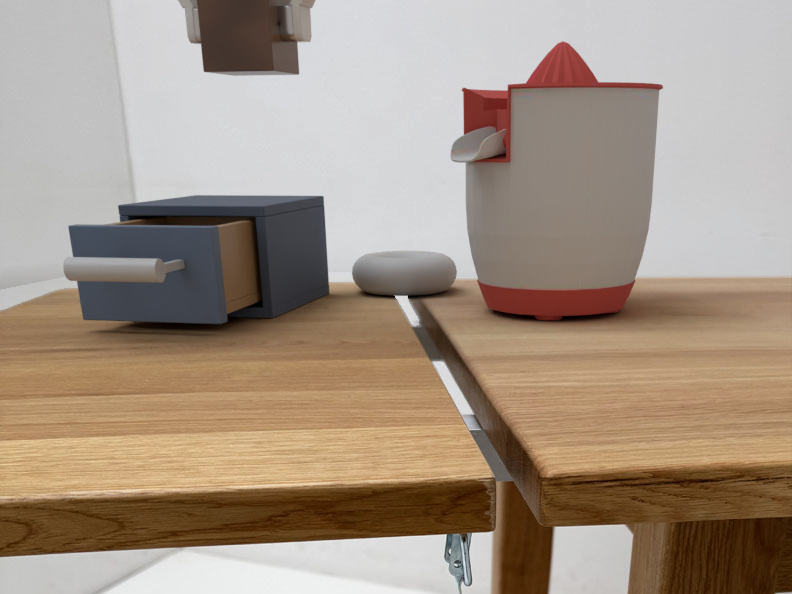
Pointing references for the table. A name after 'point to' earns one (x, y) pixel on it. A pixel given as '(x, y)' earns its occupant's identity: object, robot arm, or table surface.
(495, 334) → the table surface
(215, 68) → the block
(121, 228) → the drawer
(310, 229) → the cabinet
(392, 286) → the donut
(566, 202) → the citrus juicer
